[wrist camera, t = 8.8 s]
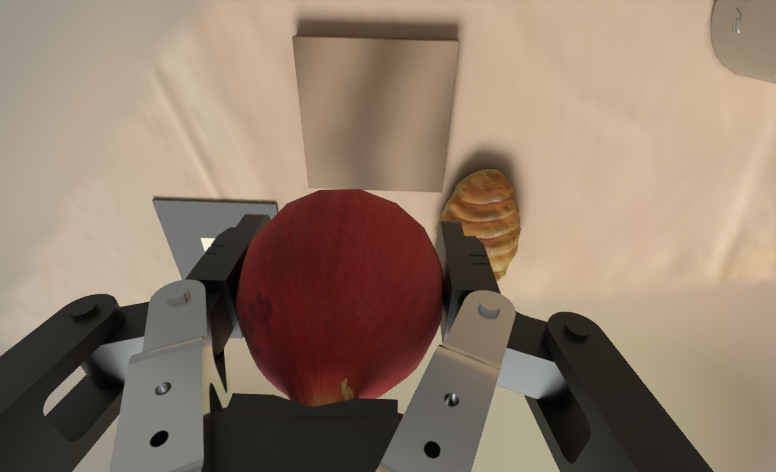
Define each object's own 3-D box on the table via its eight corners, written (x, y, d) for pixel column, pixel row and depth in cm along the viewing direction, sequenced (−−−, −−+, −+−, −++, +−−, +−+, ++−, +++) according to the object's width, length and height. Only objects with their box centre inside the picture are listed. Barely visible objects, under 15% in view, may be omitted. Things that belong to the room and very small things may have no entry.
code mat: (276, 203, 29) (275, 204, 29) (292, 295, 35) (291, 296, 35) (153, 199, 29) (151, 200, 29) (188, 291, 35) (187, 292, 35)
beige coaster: (457, 40, 23) (459, 41, 22) (440, 186, 28) (441, 192, 27) (296, 35, 23) (292, 36, 22) (311, 182, 28) (308, 187, 27)
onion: (330, 297, 16) (281, 512, 9) (247, 190, 13) (94, 392, 7) (455, 251, 14) (502, 471, 8) (392, 120, 12) (382, 290, 5)
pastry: (438, 163, 27) (444, 186, 24) (529, 164, 27) (546, 187, 24) (430, 262, 33) (434, 292, 29) (506, 263, 32) (518, 293, 29)
